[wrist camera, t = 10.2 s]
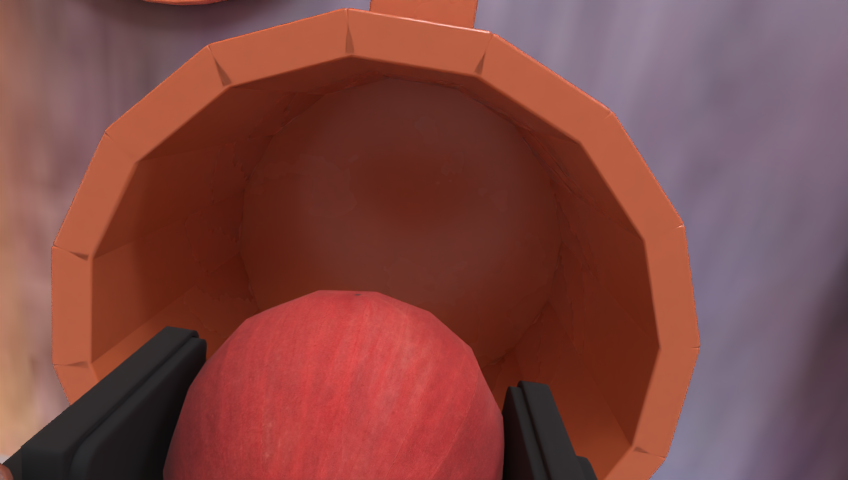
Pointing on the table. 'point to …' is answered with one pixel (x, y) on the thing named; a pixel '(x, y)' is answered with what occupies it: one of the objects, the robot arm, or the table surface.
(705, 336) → the table surface
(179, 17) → the table surface
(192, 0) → the lid
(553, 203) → the dutch oven
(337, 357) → the onion
